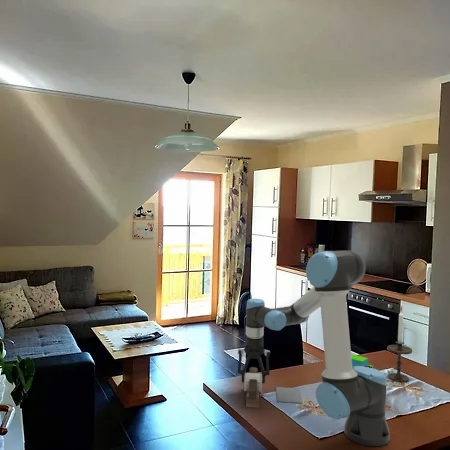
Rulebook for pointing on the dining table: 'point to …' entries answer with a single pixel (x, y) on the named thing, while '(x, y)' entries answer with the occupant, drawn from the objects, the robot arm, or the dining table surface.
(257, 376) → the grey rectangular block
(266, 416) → the dining table surface
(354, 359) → the toy block
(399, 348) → the candlestick
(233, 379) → the dining table surface
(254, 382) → the plane body
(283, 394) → the grey mat
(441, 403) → the dining table surface
